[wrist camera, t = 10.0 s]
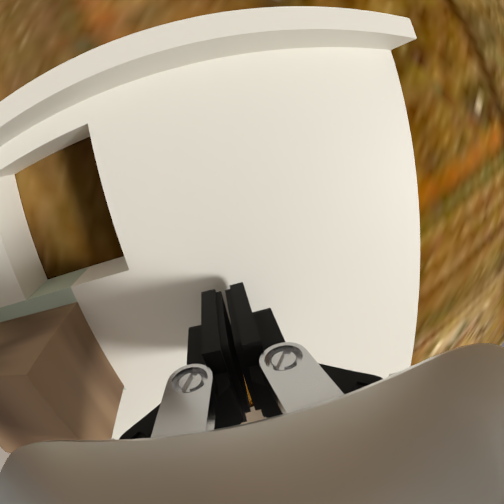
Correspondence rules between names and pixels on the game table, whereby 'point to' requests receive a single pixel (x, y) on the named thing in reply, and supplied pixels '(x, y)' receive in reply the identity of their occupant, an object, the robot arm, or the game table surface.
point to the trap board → (230, 188)
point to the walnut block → (54, 380)
